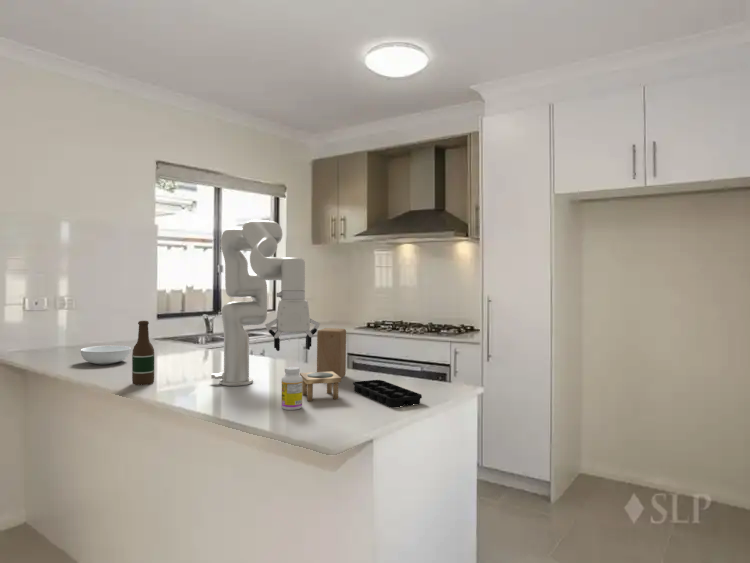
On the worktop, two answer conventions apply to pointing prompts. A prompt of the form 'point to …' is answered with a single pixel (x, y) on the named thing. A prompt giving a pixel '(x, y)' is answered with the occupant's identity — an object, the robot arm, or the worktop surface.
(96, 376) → the worktop surface
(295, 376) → the supplement bottle
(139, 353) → the beer bottle
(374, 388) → the egg carton
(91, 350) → the serving bowl
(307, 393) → the footstool
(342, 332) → the wooden block
